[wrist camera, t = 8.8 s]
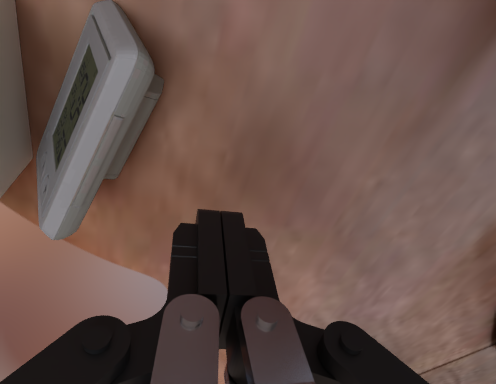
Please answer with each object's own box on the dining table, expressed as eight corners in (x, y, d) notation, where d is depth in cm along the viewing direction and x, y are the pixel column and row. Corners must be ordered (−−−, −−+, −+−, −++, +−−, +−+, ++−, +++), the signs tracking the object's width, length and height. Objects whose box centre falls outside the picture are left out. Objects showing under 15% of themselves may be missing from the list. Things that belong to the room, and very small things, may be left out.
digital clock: (110, -17, 26) (69, -7, 17) (201, 67, 30) (206, 110, 21) (7, 133, 31) (-65, 200, 22) (98, 187, 35) (68, 261, 26)
